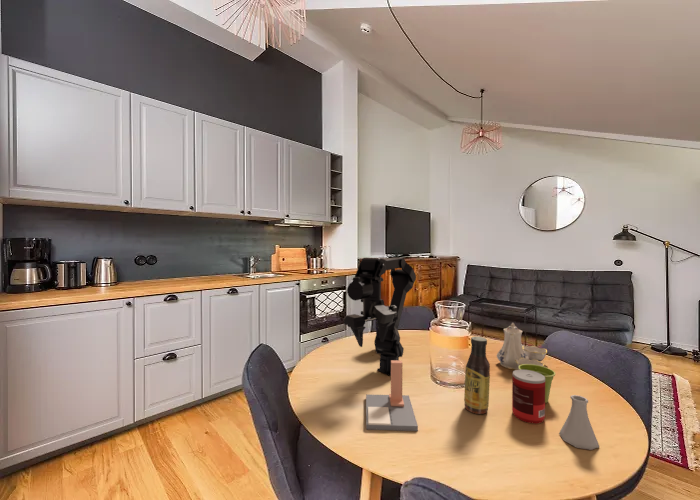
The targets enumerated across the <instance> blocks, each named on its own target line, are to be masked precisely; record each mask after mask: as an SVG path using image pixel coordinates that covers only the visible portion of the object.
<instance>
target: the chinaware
mask: <svg viewBox="0 0 700 500" xmlns="http://www.w3.org/2000/svg"><path fill="white" fill-rule="evenodd" d="M503 333H504V339H503V340H504V341H503V344H502V346H501V347H500V350H499V351H498V352H497V354H496V358H497V360H498V361H499V362H500V363H499V365H500V366H501V367H503V368H506V369H509V370H513V371H515V370H519V368H518V367H519V365H522V364H533V365H539V366H543V367H546V365H545V364H544V363H541V362H543V361H544V359H545V358H546V354H548V350H547V348H544V347H542V348H540V347H538V346H536V345H530V346H526V345H523V344H522V333H523V330H521V329H519V328H518V327H517V326H516V325H515V323H514V322H511V324H510V325H509V326H508V327H506V328H503Z"/></svg>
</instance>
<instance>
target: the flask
mask: <svg viewBox="0 0 700 500" xmlns="http://www.w3.org/2000/svg"><path fill="white" fill-rule="evenodd" d="M569 398H570V400H571V407H570V410H569V413H568V415H567V418H566V420H565V421H564V423H563V425H562V427H561V429H560V430H559V433H558V434H559V435H560V437H561V439H562V440H563V442H564V441H565V442H566V443H568V444H569V445H571V446H572V447H575V448H576V449H577V448H578V449H584V450H590V451H592V450H596V449H597V448H598V449H599V448H600V444H599V442H598V439H597V437H596V435H595V432H594V429H593V426H592V423H591V420H590V418H589V414H588V410H587V408H588V407H587V405H588V403H589V400H588V398H586V397H584V396H581V395H576V394H573V395H570V397H569Z"/></svg>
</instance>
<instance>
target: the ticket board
mask: <svg viewBox="0 0 700 500" xmlns="http://www.w3.org/2000/svg"><path fill="white" fill-rule="evenodd" d="M402 397H403V401H404V407H402V406H391V404H390V398H389V394H365V414H366V416H365V418H366V419H365V421H366V422H365V424H366V427H365V428H366V429H365V430H374V431H404V432H405V431H407V432H408V431H409V432H418V431H419V425H418V422H417V421H418V420H417V418H416V416H415V412H414V408H413V405H412V401H411V399H410V395H408V394H407V395H404V394H402Z"/></svg>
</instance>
